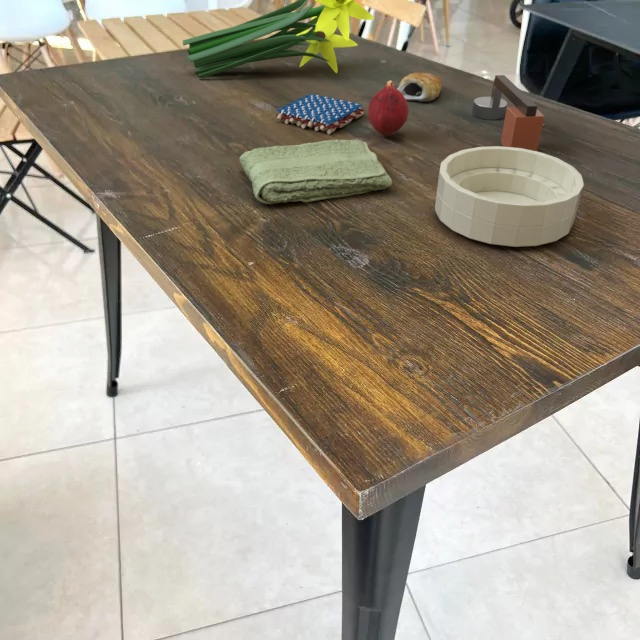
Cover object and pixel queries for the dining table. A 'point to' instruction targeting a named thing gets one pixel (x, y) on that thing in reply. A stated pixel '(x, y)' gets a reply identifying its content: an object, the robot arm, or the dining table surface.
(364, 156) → the washcloth
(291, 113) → the woven mat
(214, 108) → the dining table surface
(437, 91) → the pastry
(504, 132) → the terracotta upright block
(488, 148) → the bowl
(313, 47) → the daffodil flowers
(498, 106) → the ladle
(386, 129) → the onion
